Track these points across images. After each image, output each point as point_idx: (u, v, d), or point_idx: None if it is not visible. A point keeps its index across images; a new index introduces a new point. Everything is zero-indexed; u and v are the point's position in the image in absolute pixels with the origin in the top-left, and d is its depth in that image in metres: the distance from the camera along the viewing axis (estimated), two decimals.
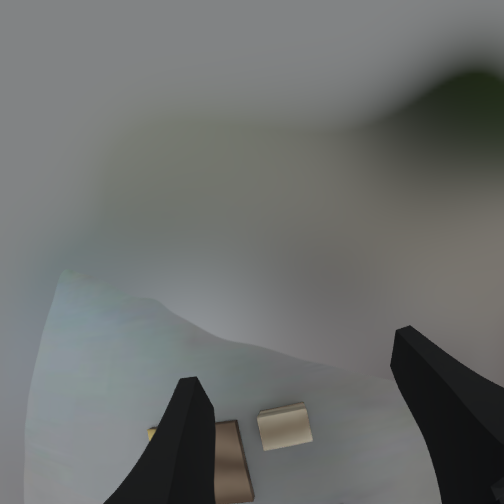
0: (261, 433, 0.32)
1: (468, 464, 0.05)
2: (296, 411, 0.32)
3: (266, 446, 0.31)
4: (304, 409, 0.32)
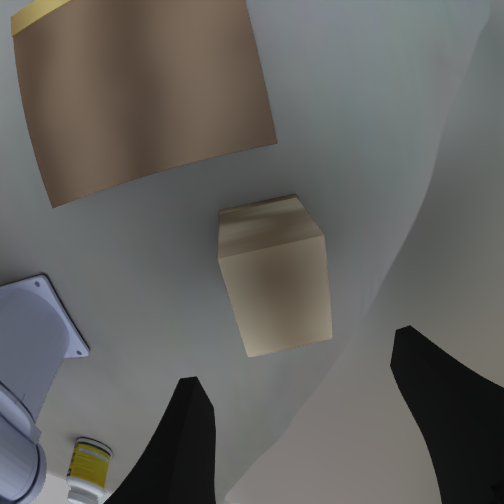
0: (275, 249, 0.12)
1: (468, 464, 0.05)
2: (328, 322, 0.15)
3: (233, 266, 0.13)
4: (329, 335, 0.15)
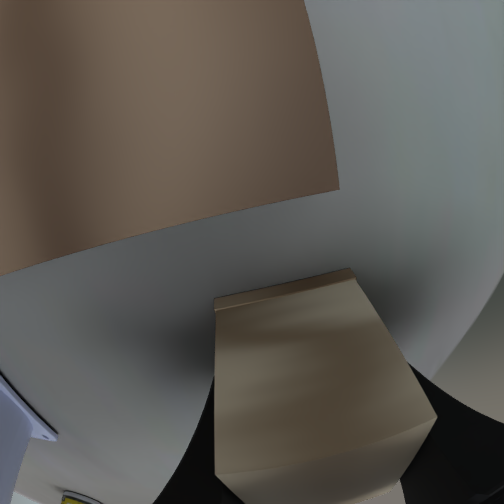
0: (338, 456, 0.05)
1: (428, 485, 0.05)
2: (392, 484, 0.07)
3: (249, 479, 0.05)
4: (388, 490, 0.07)
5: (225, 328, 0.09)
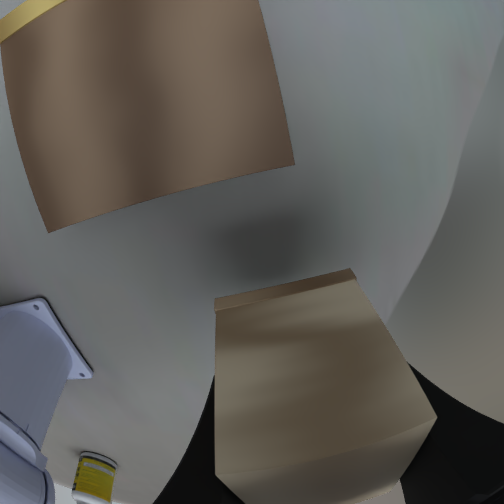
0: (338, 456, 0.05)
1: (428, 485, 0.05)
2: (392, 484, 0.07)
3: (249, 479, 0.05)
4: (387, 490, 0.07)
5: (225, 328, 0.09)
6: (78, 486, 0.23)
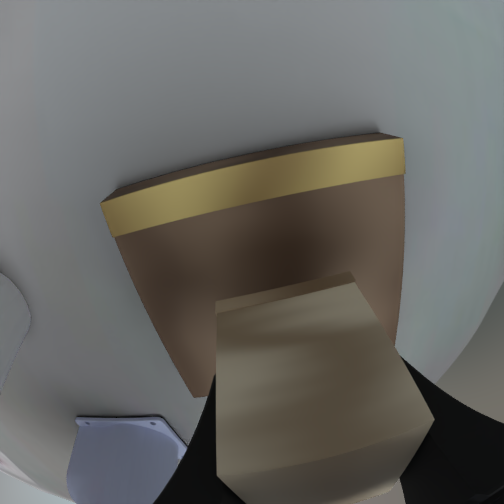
0: (337, 457, 0.05)
1: (428, 485, 0.05)
2: (391, 484, 0.07)
3: (250, 479, 0.05)
4: (387, 490, 0.07)
5: (226, 331, 0.09)
6: None
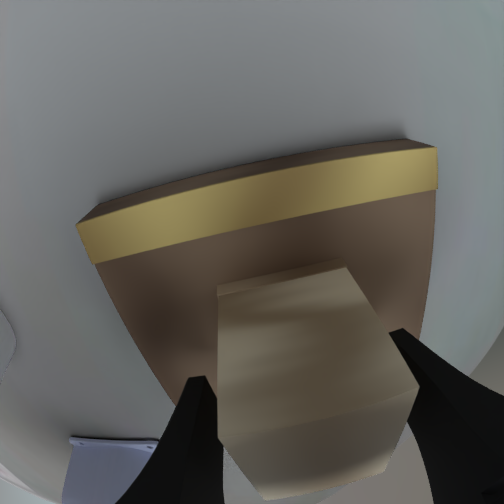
0: (329, 420, 0.06)
1: (459, 469, 0.05)
2: (384, 462, 0.08)
3: (248, 443, 0.06)
4: (381, 470, 0.08)
5: (227, 311, 0.09)
6: None
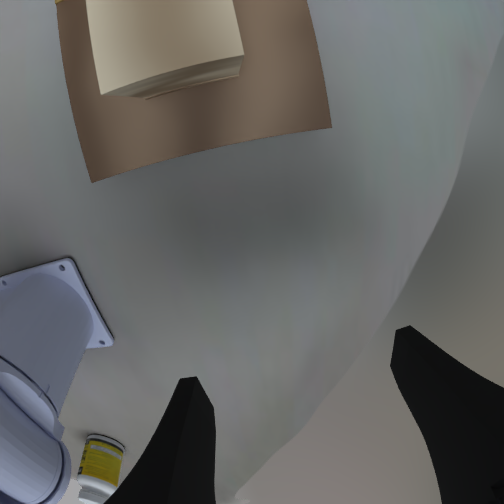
0: None
1: (468, 464, 0.05)
2: (231, 21, 0.07)
3: None
4: (238, 49, 0.07)
5: None
6: (84, 470, 0.24)
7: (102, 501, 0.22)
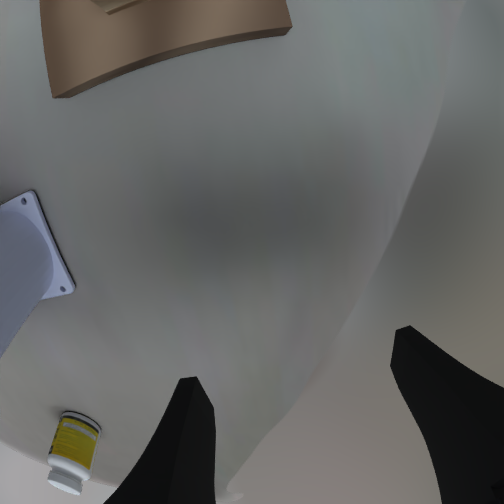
0: None
1: (468, 464, 0.05)
2: None
3: None
4: None
5: None
6: (55, 449, 0.22)
7: (71, 484, 0.19)
